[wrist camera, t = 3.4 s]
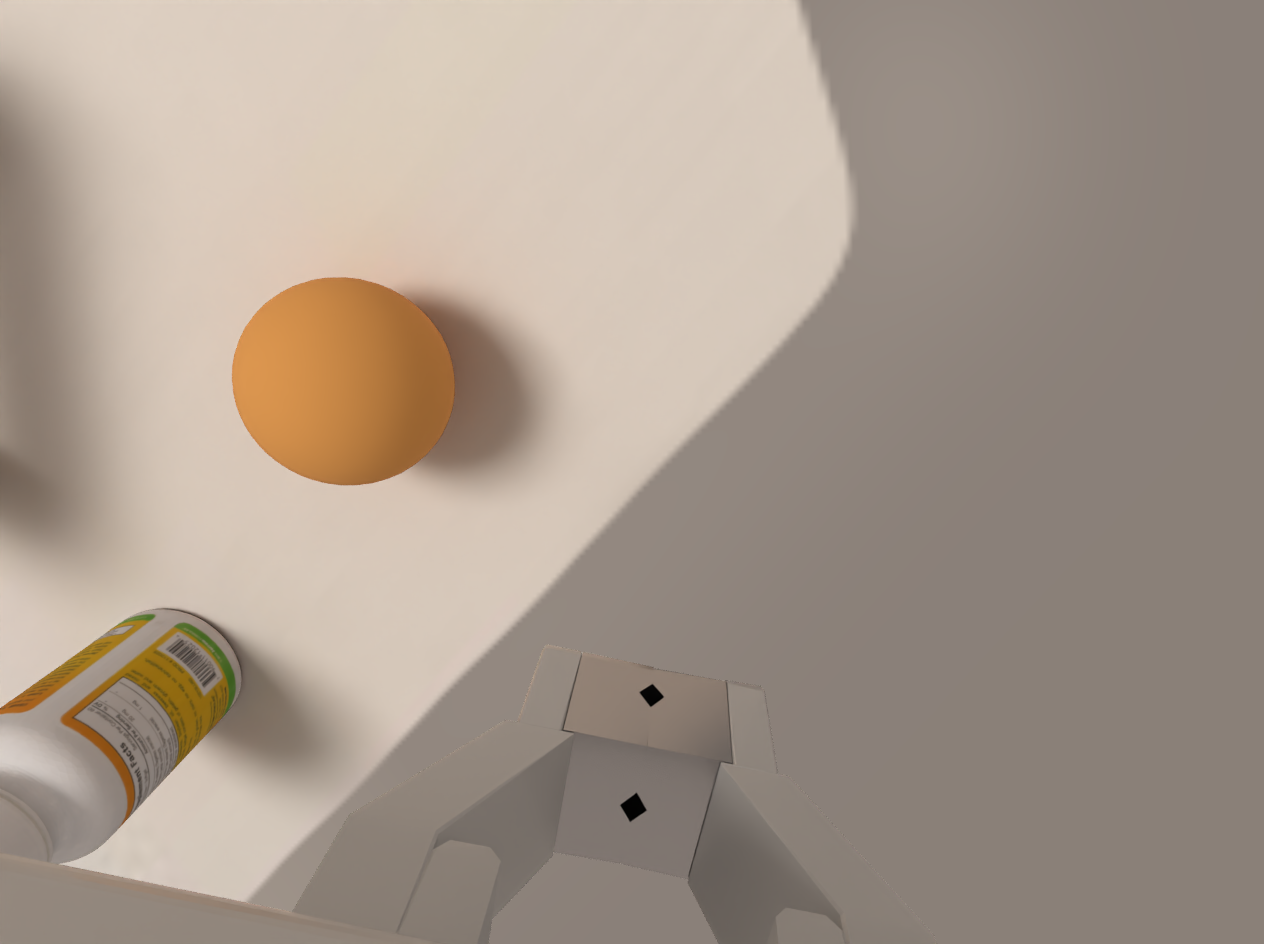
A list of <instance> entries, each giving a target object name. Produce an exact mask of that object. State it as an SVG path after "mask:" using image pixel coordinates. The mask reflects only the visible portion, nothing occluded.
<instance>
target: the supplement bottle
mask: <svg viewBox="0 0 1264 944" xmlns="http://www.w3.org/2000/svg"><path fill="white" fill-rule="evenodd" d="M240 688H241V669H240V666H239V662H238V660H237V657H236V655H235V653H234V651H233V650H232V648H231V646H230V645H229V644H228V642H227V641H226V640H225V638H224V637H223V636H222V635H221V634H220V633H219V632H218V631H216V630H215V629H214V628H213V627H212V626H210V625H209V624H207V623H206V622H204V621H203V620H201V619H199V618H197V617H195V616H193V615H190V614H187V613H183V612H180V611H175V610H167V609H155V610H148V611H144V612H140V613H137V614H135V615H133V616H131V617H129V618H127V619H126V620H124V621H123V622H121V623H120V624H118V625H117V626H115V627H114V628H112V629H111V630H110V631H108V632H107V633H105V634H104V635H103V636H101V637H100V638H99V639H97V640H96V641H94V642H93V643H92V644H90V645H89V646H88V647H86V648H85V649H83V650H82V651H80V652H79V653H78V654H76V655H75V656H73V657H72V658H71V659H69V660H68V661H66V662H65V663H64V664H62V665H61V666H59V667H58V668H57V669H55V670H54V671H52V672H51V673H50V674H48V675H47V676H45V677H44V678H42V679H41V680H39V681H38V682H37V683H35V684H34V685H32V686H31V687H30V688H28V689H27V690H26V691H24V692H23V693H21V694H20V695H18V696H17V697H16V698H14V699H13V700H11V701H10V702H8V703H7V704H6V705H4V706H3V707H1V708H0V852H1V853H6V854H11V855H16V856H21V857H26V858H30V859H35V860H40V861H45V862H50V863H55V864H60V863H66V862H70V861H73V860H76V859H79V858H81V857H84V856H86V855H88V854H90V853H91V852H93V851H95V850H96V849H98V848H99V847H100V846H101V845H103V844H104V843H105V842H106V841H107V840H108V839H109V838H110V837H111V836H112V835H113V834H114V833H115V832H116V831H117V830H118V829H119V828H120V827H121V825H122V824H123V823H124V822H125V821H126V820H127V819H128V818H129V817H130V816H131V815H132V814H133V812H134V811H135V810H136V809H137V808H138V807H139V806H140V805H141V804H142V803H143V802H144V801H145V800H146V798H147V797H148V796H149V795H150V794H151V793H152V792H153V791H154V790H155V789H156V788H157V787H158V786H159V785H160V783H161V782H162V781H163V780H164V779H165V778H166V777H167V776H168V775H169V774H170V773H171V772H172V771H173V770H174V769H175V767H176V766H177V765H178V764H179V763H180V762H181V761H182V760H183V759H184V758H185V757H186V756H187V755H188V754H189V752H190V751H191V750H192V749H193V748H194V747H195V746H196V745H197V744H198V743H199V742H200V741H201V740H202V739H203V738H204V736H205V735H206V734H207V733H208V732H209V731H210V730H211V729H212V728H213V727H214V726H215V725H216V724H217V723H218V722H219V721H220V720H221V718H222V717H223V716H224V715H225V714H226V713H227V712H228V710H229V709H230V708H231V707H232V705H233V704H234V703H235V701H236V699H237V697H238V695H239V692H240Z"/></svg>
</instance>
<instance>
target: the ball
mask: <svg viewBox="0 0 1264 944" xmlns="http://www.w3.org/2000/svg"><path fill="white" fill-rule="evenodd" d="M232 383H233V393H234V398H235V402H236V406H237V409H238V411H239V414H240V417H241V419H242V421H243V423H244V425H245V427H246V428H247V430H248V431H249V433H250V434H251V436H252V437H253V439H254V440H255V441H256V442H257V444H258V445H259V446H260V447H261V448H262V449H263V450H264V451H265V452H266V453H267V454H268V455H269V456H271V457H272V458H273V459H274V460H275V461H277V462H278V463H280V464H281V465H283V466H284V467H286V468H288V469H289V470H291V471H293V472H295V473H297V474H299V475H301V476H304V477H306V478H309V479H312V480H316V481H319V482H324V483H329V484H336V485H361V484H369V483H374V482H378V481H382V480H385V479H388V478H391V477H393V476H395V475H398V474H400V473H402V472H403V471H405V470H407V469H408V468H410V467H412V466H413V465H415V464H416V463H417V462H418V461H420V460H421V459H422V458H423V457H424V456H425V455H426V454H427V453H428V452H429V451H430V450H431V449H432V448H433V446H434V445H435V444H436V443H437V441H438V440H439V438H440V437H441V435H442V434H443V432H444V430H445V427H446V425H447V423H448V421H449V418H450V415H451V412H452V408H453V403H454V396H455V379H454V370H453V365H452V361H451V357H450V354H449V351H448V349H447V346H446V344H445V342H444V340H443V338H442V336H441V334H440V333H439V331H438V330H437V328H436V327H435V325H434V324H433V323H432V322H431V320H430V319H429V318H428V317H427V316H426V315H425V314H424V313H423V312H422V311H421V310H420V309H419V308H418V307H417V306H416V305H414V304H413V303H412V302H410V301H409V300H408V299H406V298H405V297H403V296H402V295H400V294H398V293H397V292H395V291H393V290H391V289H389V288H386V287H384V286H381V285H379V284H376V283H372V282H368V281H365V280H361V279H354V278H322V279H316V280H311V281H308V282H305V283H302V284H298V285H295V286H293V287H291V288H289V289H287V290H285V291H283V292H281V293H279V294H278V295H276V296H275V297H274V298H272V299H271V300H269V301H268V302H267V303H265V304H264V305H263V306H262V307H261V308H260V309H259V310H258V311H257V313H256V314H255V315H254V316H253V317H252V319H251V320H250V322H249V323H248V324H247V326H246V327H245V329H244V331H243V333H242V335H241V337H240V339H239V342H238V345H237V348H236V351H235V354H234V360H233V365H232Z"/></svg>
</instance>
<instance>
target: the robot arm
mask: <svg viewBox="0 0 1264 944" xmlns="http://www.w3.org/2000/svg"><path fill="white" fill-rule="evenodd" d="M553 852H555V853H561V854H568V855H573V856H579V857H585V858H591V859H596V860H602V861H609V862H614V863H621V864H624V865H628V866H633V867H637V868H641V869H646V870H650V871H654V872H659V873H663V874H668V875H672V876H676V877H680V878H685V879H688V884H689V887H690V889H691V890H692V892H693V894H694V896H695V898H696V900H697V902H698V904H699V906H700V908H701V910H702V912H703V914H704V916H705V918H706V920H707V922H708V924H709V926H710V928H711V930H712V932H713V934H714V936H715V938H716V939H717V942H718V943H719V944H937V943H936V940H935V937H934V934H933V933H932V932H931V931H930V930H929V929H928V928H927V927H926V926H925V924H924V923H923V922H922V921H921V920H920V919H919V918H918V917H917V916H916V915H915V913H914V912H913V911H912V910H911V909H910V908H909V907H908V906H907V905H906V904H905V902H904V901H903V900H902V899H901V898H900V897H899V896H898V895H897V894H896V893H895V891H894V890H893V889H892V888H891V887H890V886H889V885H888V884H887V883H886V882H885V880H883V878H882V877H881V876H880V875H879V874H878V873H877V872H876V871H875V870H874V868H873V867H872V866H871V865H870V864H869V863H868V862H867V861H866V860H865V859H864V858H863V856H862V855H861V854H860V853H859V852H858V851H857V850H856V849H855V848H854V846H853V845H852V844H851V843H850V842H849V841H848V840H847V839H846V838H845V837H844V835H842V833H841V832H840V831H839V830H838V829H837V828H836V827H835V826H834V825H833V823H832V822H831V821H830V820H829V819H828V818H827V817H826V816H825V815H824V814H823V813H822V811H821V810H820V809H819V808H818V807H817V806H816V805H815V804H814V803H813V801H811V799H810V798H809V797H808V796H807V795H806V794H805V793H804V792H803V790H802V789H801V788H800V787H799V786H798V785H797V784H796V783H795V782H794V781H793V780H792V778H791V777H790V776H787V775H782V774H778V769H777V764H776V757H775V751H774V745H773V739H772V733H771V727H770V721H769V715H768V709H767V703H766V696H765V691H764V689H763V688H762V687H761V686H757V685H751V684H745V683H739V682H733V681H727V680H725V681H721V680H716V679H710V678H705V677H699V676H694V675H689V674H683V673H678V672H672V671H667V670H661V669H656V668H653V667H650V666H646V665H641V664H637V663H632V662H627V661H623V660H618V659H614V658H609V657H605V656H600V655H596V654H591V653H586V652H583V654H582V653H581V651H577V650H572V649H567V648H562V647H557V646H552V645H546V646H545V647H544V649H543V650H542V652H541V655H540V658H539V661H538V664H537V667H536V669H535V672H534V675H533V678H532V681H531V684H530V687H529V689H528V692H527V695H526V698H525V701H524V704H523V707H522V709H521V712H520V715H519V718H518V721H517V722H515V721H510V720H505V721H504V722H502V723H500V724H498V725H497V726H495V727H493V728H492V729H490V730H488V731H487V732H485V733H484V734H482V735H480V736H479V737H477V738H475V739H474V740H472V741H470V742H469V743H467V744H465V745H464V746H462V747H461V748H459V749H457V750H456V751H454V752H452V753H451V754H449V755H447V756H446V757H444V758H442V759H441V760H439V761H438V762H436V763H434V764H432V765H431V766H429V767H427V768H426V769H424V770H422V771H421V772H419V773H418V774H416V775H414V776H412V777H411V778H409V779H408V780H406V781H404V782H403V783H401V784H399V785H398V786H396V787H394V788H393V789H391V790H389V791H388V792H386V793H384V794H383V795H381V796H379V797H378V798H376V799H375V800H373V801H371V802H370V803H368V804H366V805H365V806H363V807H361V808H360V809H358V810H356V811H355V812H353V813H351V814H350V815H349V816H348V818H347V819H346V821H345V823H344V824H343V826H342V828H341V829H340V831H339V833H338V834H337V836H336V838H335V840H334V841H333V843H332V845H331V846H330V848H329V850H328V852H327V853H326V855H325V856H324V858H323V860H322V862H321V863H320V865H319V867H318V869H317V870H316V872H315V874H314V875H313V877H312V879H311V880H310V882H309V884H308V885H307V887H306V889H305V891H304V892H303V894H302V896H301V897H300V899H299V901H298V903H297V904H296V906H295V908H294V909H293V911H292V912H290V911H285V910H280V909H275V908H270V907H265V906H260V905H255V904H251V903H246V902H241V901H236V900H231V899H226V898H221V897H216V896H211V895H207V894H202V893H197V892H192V891H187V890H182V889H177V888H172V887H167V886H163V885H158V884H153V883H148V882H143V881H138V880H133V879H128V878H123V877H119V876H114V875H109V874H104V873H99V872H94V871H89V870H84V869H79V868H74V867H70V866H65V865H60V864H55V863H50V862H45V861H40V860H35V859H30V858H26V857H21V856H16V855H11V854H6V853H1V852H0V944H488V943H489V937H490V931H491V924H492V919H493V918H494V917H495V916H496V915H497V914H498V913H499V912H500V911H501V910H502V908H504V906H505V905H506V904H507V903H508V902H509V901H510V900H511V899H512V898H513V897H514V896H515V895H516V894H517V893H518V892H519V891H520V890H521V889H522V888H523V887H524V886H525V884H527V882H528V881H529V880H530V879H531V878H532V877H533V876H534V875H535V874H536V873H537V872H538V871H539V870H540V869H541V868H542V867H543V865H545V863H547V862H548V860H549V859H550V858H551V857H552V856H553Z"/></svg>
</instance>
